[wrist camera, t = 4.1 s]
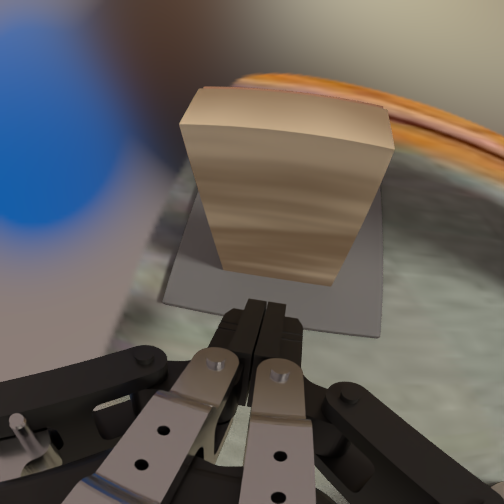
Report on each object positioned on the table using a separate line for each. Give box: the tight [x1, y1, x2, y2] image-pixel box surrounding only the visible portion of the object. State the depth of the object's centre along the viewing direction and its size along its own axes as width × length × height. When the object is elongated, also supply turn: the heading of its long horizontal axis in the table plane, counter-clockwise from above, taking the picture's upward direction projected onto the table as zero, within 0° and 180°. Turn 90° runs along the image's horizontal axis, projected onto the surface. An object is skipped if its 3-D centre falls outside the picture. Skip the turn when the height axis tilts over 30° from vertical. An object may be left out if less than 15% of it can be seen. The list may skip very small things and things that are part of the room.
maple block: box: [179, 87, 395, 287], centre depth 15 cm, size 2×7×12 cm, turn 79°
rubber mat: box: [163, 186, 383, 338], centre depth 23 cm, size 20×14×1 cm
